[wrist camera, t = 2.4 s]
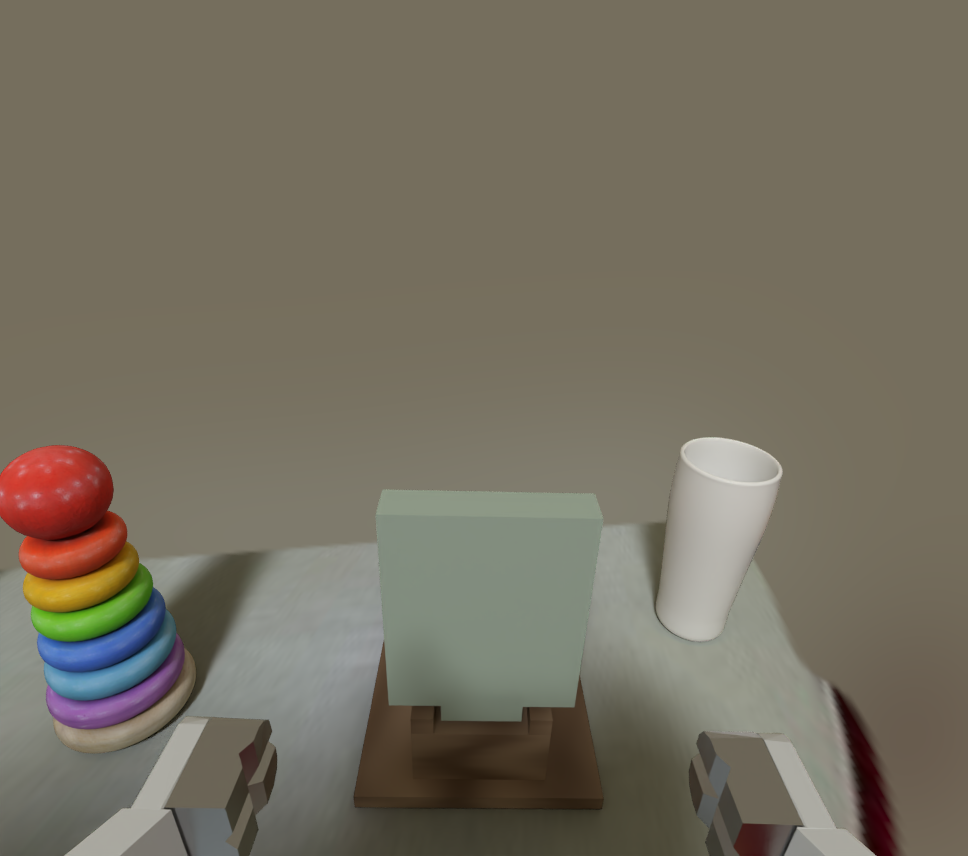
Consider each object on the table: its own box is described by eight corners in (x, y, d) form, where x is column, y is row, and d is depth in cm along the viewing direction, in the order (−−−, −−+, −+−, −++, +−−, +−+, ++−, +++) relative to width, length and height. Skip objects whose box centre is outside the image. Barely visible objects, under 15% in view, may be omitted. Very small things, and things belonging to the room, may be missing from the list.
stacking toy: (222, 690, 37) (158, 449, 29) (93, 788, 32) (-33, 519, 23) (162, 636, 41) (90, 410, 33) (37, 713, 36) (-88, 462, 27)
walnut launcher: (354, 807, 31) (346, 736, 28) (401, 561, 50) (398, 504, 47) (601, 808, 31) (616, 738, 29) (555, 564, 50) (561, 507, 47)
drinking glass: (638, 587, 48) (669, 433, 41) (717, 592, 47) (761, 438, 41) (654, 649, 42) (694, 481, 35) (745, 656, 41) (802, 487, 35)
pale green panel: (389, 720, 30) (375, 514, 24) (394, 688, 32) (382, 489, 26) (572, 722, 30) (603, 518, 24) (566, 690, 32) (594, 493, 26)
